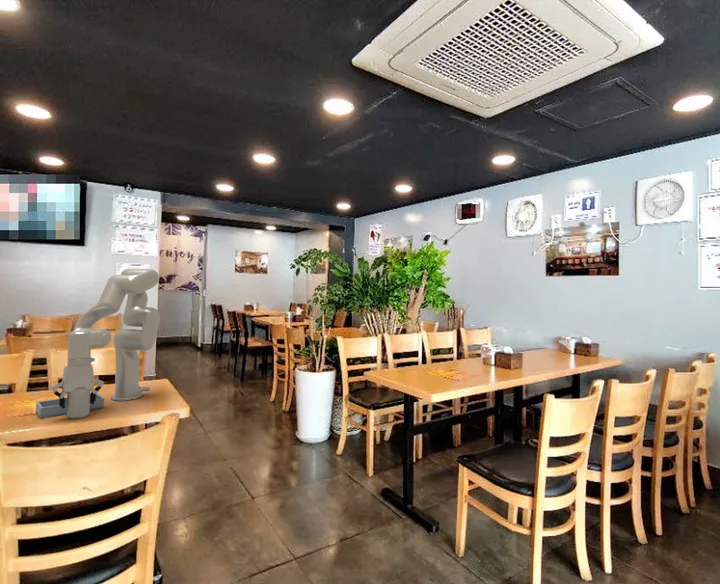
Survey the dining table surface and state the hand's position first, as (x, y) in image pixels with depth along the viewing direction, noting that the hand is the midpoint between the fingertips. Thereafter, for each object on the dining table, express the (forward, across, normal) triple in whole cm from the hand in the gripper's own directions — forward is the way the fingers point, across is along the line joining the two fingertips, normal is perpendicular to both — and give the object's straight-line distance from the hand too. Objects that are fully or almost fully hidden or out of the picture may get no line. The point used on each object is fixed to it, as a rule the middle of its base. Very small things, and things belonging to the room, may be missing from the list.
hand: (77, 405), depth 161 cm
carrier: (+4, 0, -12) cm, 12 cm away
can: (+5, 0, 0) cm, 5 cm away
